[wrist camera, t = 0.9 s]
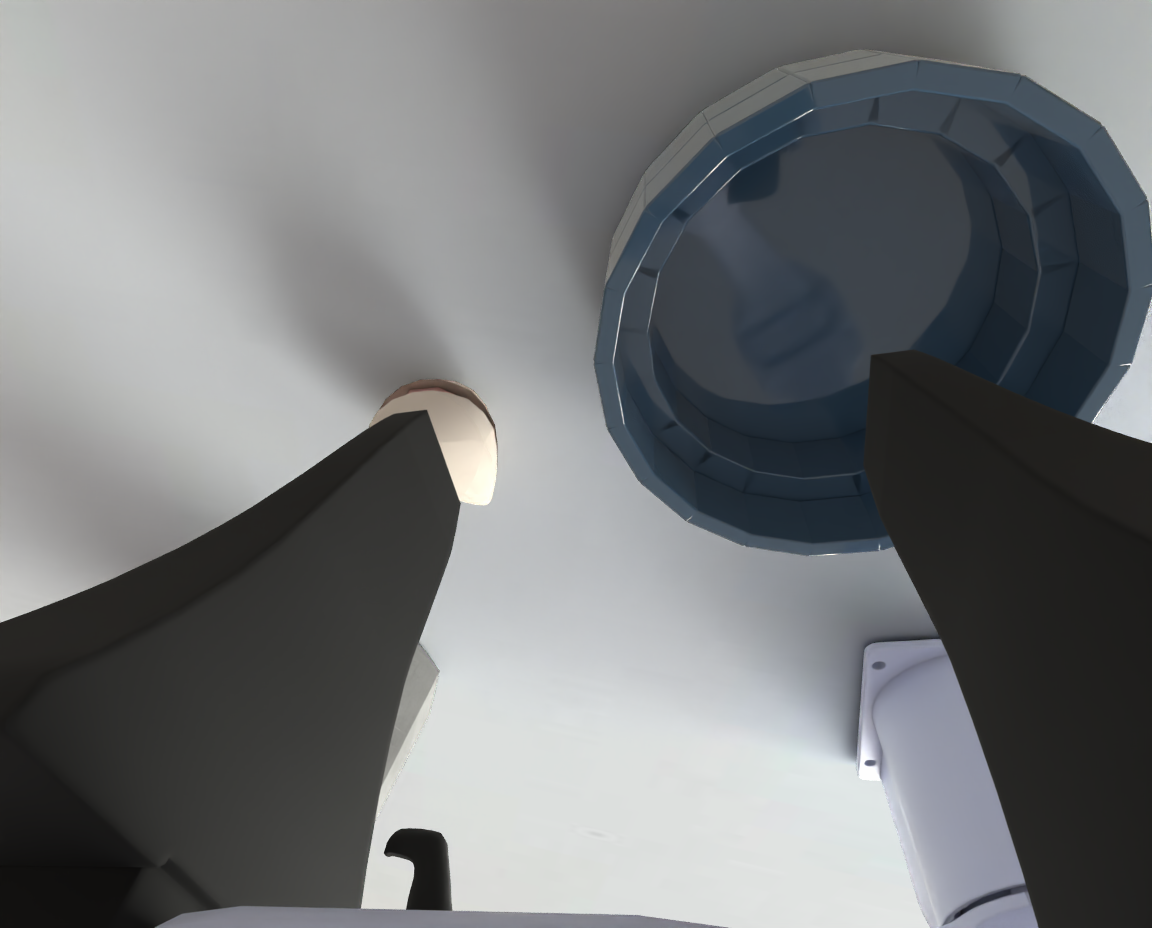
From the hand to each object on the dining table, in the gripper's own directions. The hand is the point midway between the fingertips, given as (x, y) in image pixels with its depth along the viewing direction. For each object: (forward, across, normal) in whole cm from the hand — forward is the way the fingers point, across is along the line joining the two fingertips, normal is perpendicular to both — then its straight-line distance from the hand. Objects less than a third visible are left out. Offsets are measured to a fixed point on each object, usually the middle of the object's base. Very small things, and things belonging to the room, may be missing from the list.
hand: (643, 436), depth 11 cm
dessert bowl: (+10, -5, +2) cm, 11 cm away
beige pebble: (+10, +7, +5) cm, 13 cm away
